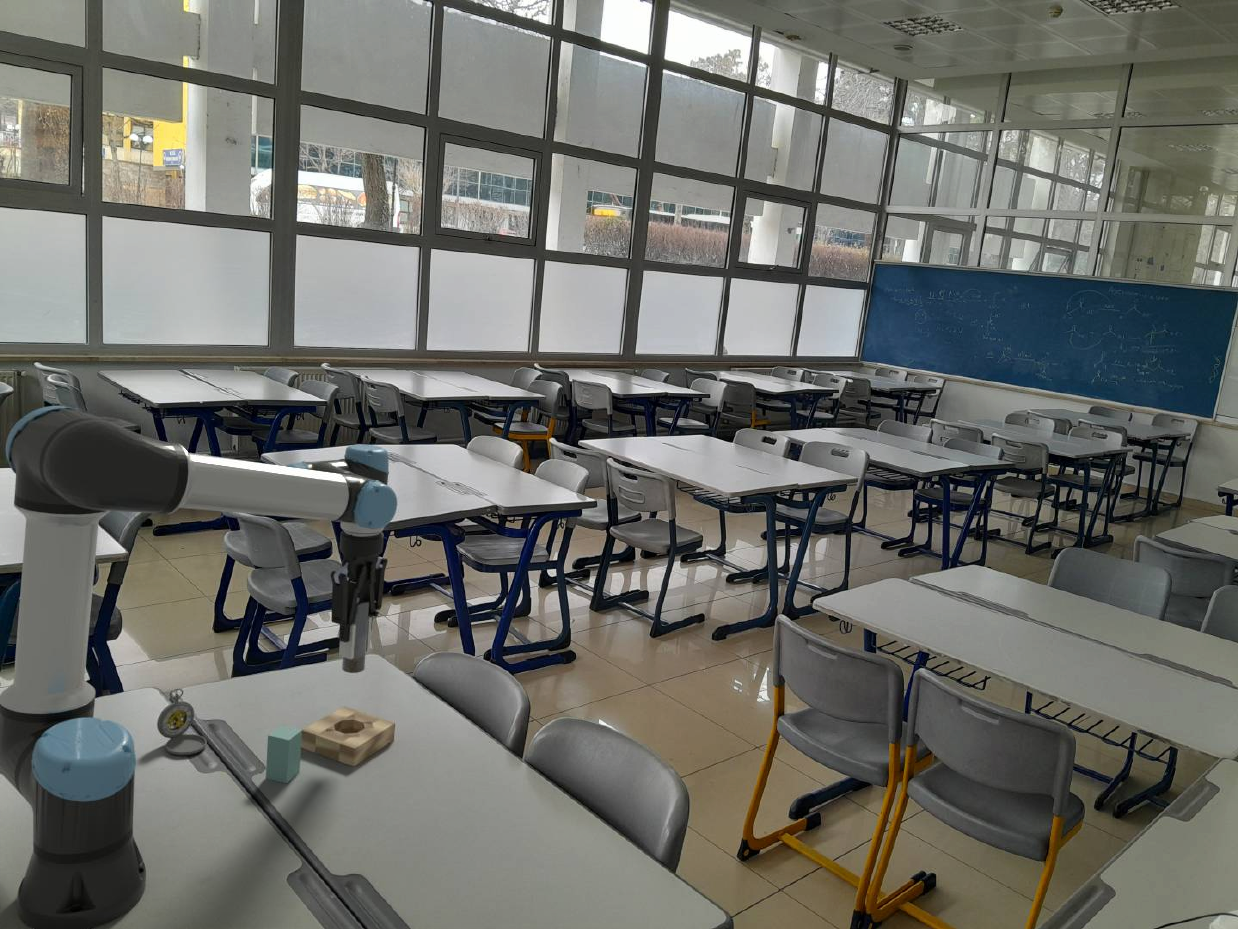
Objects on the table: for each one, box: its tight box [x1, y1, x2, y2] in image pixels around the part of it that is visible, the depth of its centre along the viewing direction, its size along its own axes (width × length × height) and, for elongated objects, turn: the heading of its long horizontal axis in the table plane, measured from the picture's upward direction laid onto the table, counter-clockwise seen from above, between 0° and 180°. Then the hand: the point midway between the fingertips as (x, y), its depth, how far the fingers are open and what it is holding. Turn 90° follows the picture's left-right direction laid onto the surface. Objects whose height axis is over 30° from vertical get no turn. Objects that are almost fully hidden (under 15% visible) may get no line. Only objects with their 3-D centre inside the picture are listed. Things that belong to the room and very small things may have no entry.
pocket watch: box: [156, 688, 208, 756], centre depth 165 cm, size 8×8×10 cm
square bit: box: [265, 725, 303, 784], centre depth 160 cm, size 4×4×8 cm
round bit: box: [341, 597, 369, 674], centre depth 170 cm, size 4×4×13 cm
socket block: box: [301, 706, 396, 767], centre depth 173 cm, size 12×12×4 cm
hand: (354, 652), depth 170 cm, fingers closed on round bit, 4 cm apart
